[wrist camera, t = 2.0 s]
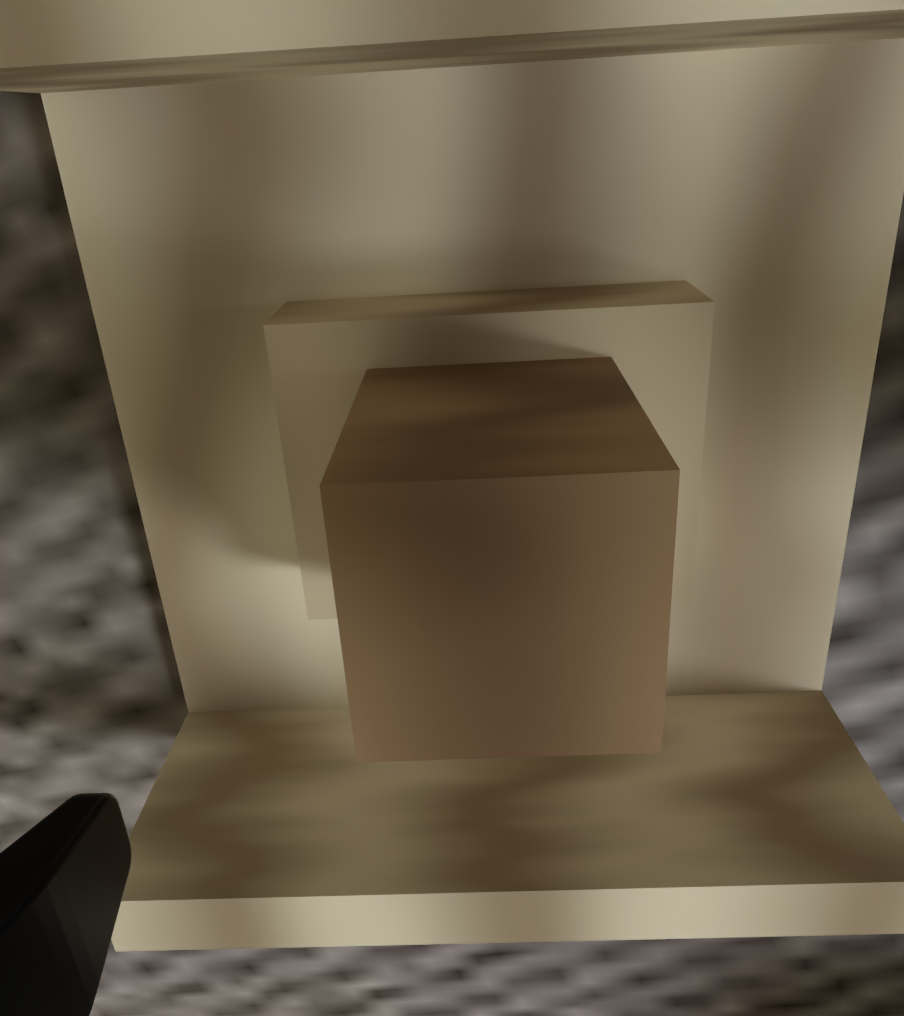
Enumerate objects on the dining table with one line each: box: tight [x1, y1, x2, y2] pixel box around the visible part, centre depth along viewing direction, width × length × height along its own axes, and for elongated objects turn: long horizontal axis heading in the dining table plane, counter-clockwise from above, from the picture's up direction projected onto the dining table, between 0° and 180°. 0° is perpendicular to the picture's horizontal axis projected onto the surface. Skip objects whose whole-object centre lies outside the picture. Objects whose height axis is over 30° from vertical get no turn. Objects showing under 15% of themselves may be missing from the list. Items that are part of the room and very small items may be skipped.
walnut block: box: [320, 357, 680, 762], centre depth 15 cm, size 5×5×6 cm
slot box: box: [0, 0, 904, 951], centre depth 18 cm, size 18×19×7 cm
